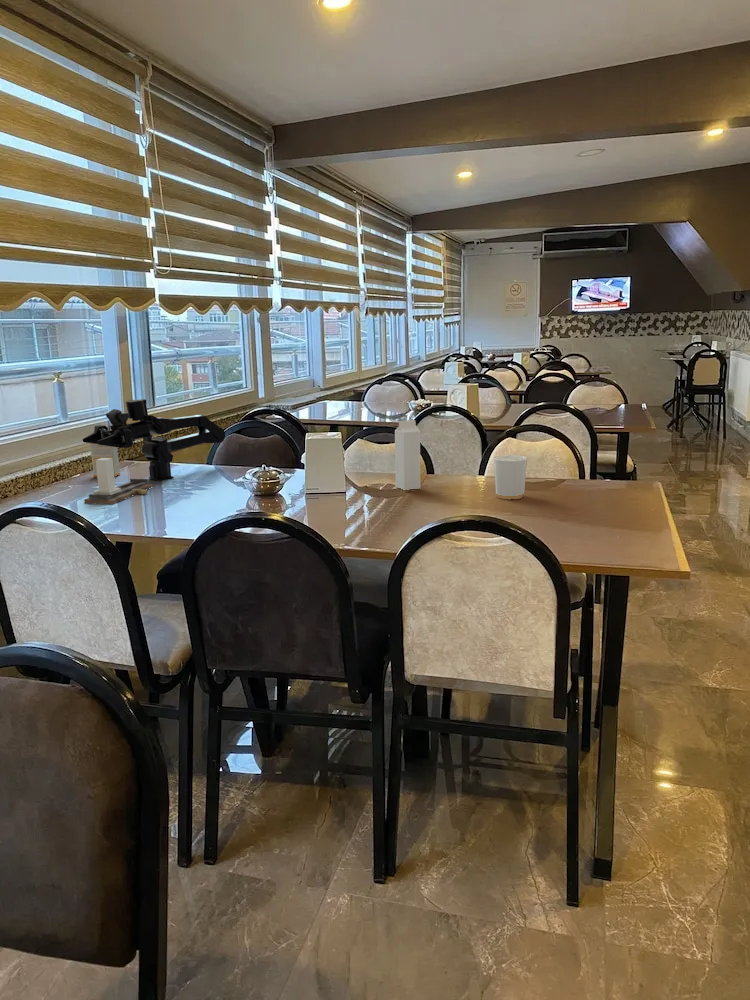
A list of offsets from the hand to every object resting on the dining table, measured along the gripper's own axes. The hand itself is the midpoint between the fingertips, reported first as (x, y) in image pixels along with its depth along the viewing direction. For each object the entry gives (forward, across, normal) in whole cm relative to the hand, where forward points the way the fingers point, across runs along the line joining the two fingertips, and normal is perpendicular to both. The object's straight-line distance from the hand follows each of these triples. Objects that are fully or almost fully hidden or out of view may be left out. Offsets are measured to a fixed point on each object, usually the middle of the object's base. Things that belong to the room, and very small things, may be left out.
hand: (90, 441), depth 248 cm
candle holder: (-70, +115, +23) cm, 136 cm away
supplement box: (-14, -20, +18) cm, 31 cm away
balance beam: (0, +13, +16) cm, 21 cm away
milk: (-61, +82, +22) cm, 105 cm away
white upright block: (+6, +16, +15) cm, 22 cm away
